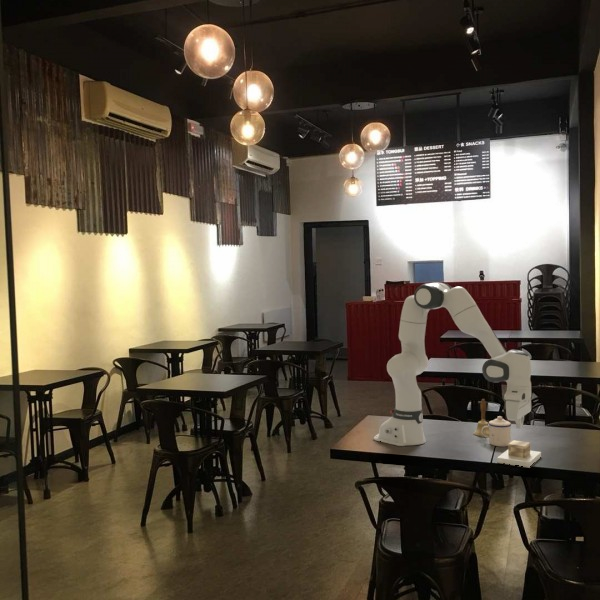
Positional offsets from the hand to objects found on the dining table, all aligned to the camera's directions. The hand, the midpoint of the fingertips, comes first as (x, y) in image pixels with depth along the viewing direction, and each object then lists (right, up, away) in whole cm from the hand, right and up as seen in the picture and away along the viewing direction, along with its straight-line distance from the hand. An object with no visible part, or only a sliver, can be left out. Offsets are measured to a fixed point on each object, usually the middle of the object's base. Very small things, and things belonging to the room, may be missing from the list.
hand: (519, 427), depth 242 cm
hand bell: (-3, -11, +40) cm, 41 cm away
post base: (0, -13, +1) cm, 13 cm away
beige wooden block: (0, -11, +1) cm, 11 cm away
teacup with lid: (-2, -12, +24) cm, 27 cm away
